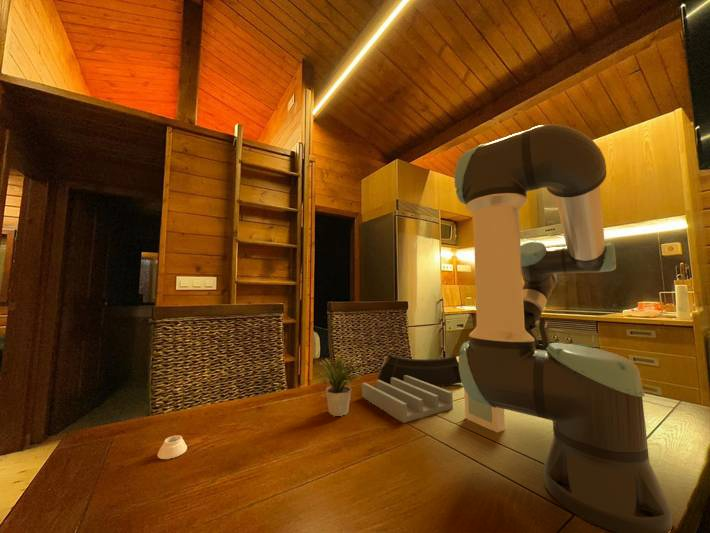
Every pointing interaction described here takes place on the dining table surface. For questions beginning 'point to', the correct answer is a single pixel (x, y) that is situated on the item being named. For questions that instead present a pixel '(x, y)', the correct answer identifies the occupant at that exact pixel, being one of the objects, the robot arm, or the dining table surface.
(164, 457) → the upturned cream bowl
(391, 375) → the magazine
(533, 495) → the dining table surface
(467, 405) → the picture frame
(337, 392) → the house plant
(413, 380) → the notched rack
